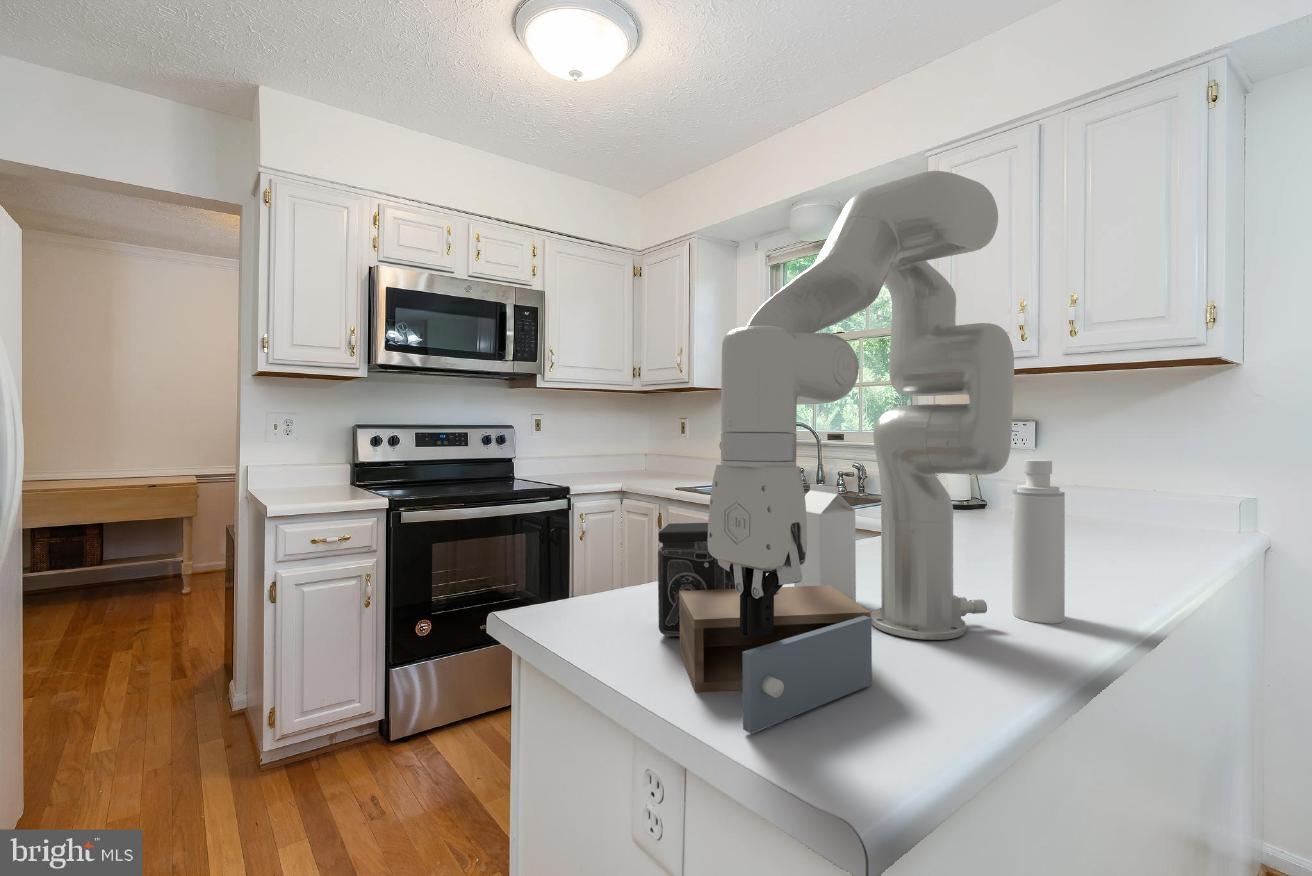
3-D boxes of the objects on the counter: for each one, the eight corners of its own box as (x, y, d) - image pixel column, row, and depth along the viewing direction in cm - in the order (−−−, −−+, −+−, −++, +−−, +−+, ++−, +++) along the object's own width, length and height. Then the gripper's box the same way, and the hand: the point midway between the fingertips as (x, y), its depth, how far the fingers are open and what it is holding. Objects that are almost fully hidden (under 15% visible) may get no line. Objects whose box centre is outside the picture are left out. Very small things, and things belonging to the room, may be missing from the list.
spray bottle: (1036, 608, 98) (1036, 448, 98) (1075, 621, 92) (1076, 449, 92) (1001, 612, 97) (1001, 449, 96) (1039, 625, 90) (1039, 450, 90)
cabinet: (830, 645, 83) (830, 585, 83) (870, 682, 71) (870, 612, 71) (679, 653, 81) (679, 590, 81) (694, 692, 69) (694, 619, 69)
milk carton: (820, 608, 100) (820, 488, 99) (793, 597, 106) (793, 484, 106) (856, 603, 103) (855, 486, 102) (827, 592, 109) (827, 482, 109)
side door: (864, 681, 70) (863, 615, 70) (882, 688, 68) (882, 621, 68) (743, 729, 60) (742, 651, 60) (761, 739, 58) (760, 659, 58)
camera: (734, 646, 83) (733, 533, 83) (656, 642, 85) (655, 531, 85) (740, 622, 93) (739, 521, 93) (670, 618, 95) (669, 519, 95)
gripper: (683, 450, 67) (681, 621, 67) (788, 453, 55) (786, 663, 55) (735, 449, 72) (733, 611, 72) (843, 453, 60) (841, 647, 60)
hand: (756, 633), depth 64 cm, fingers closed
